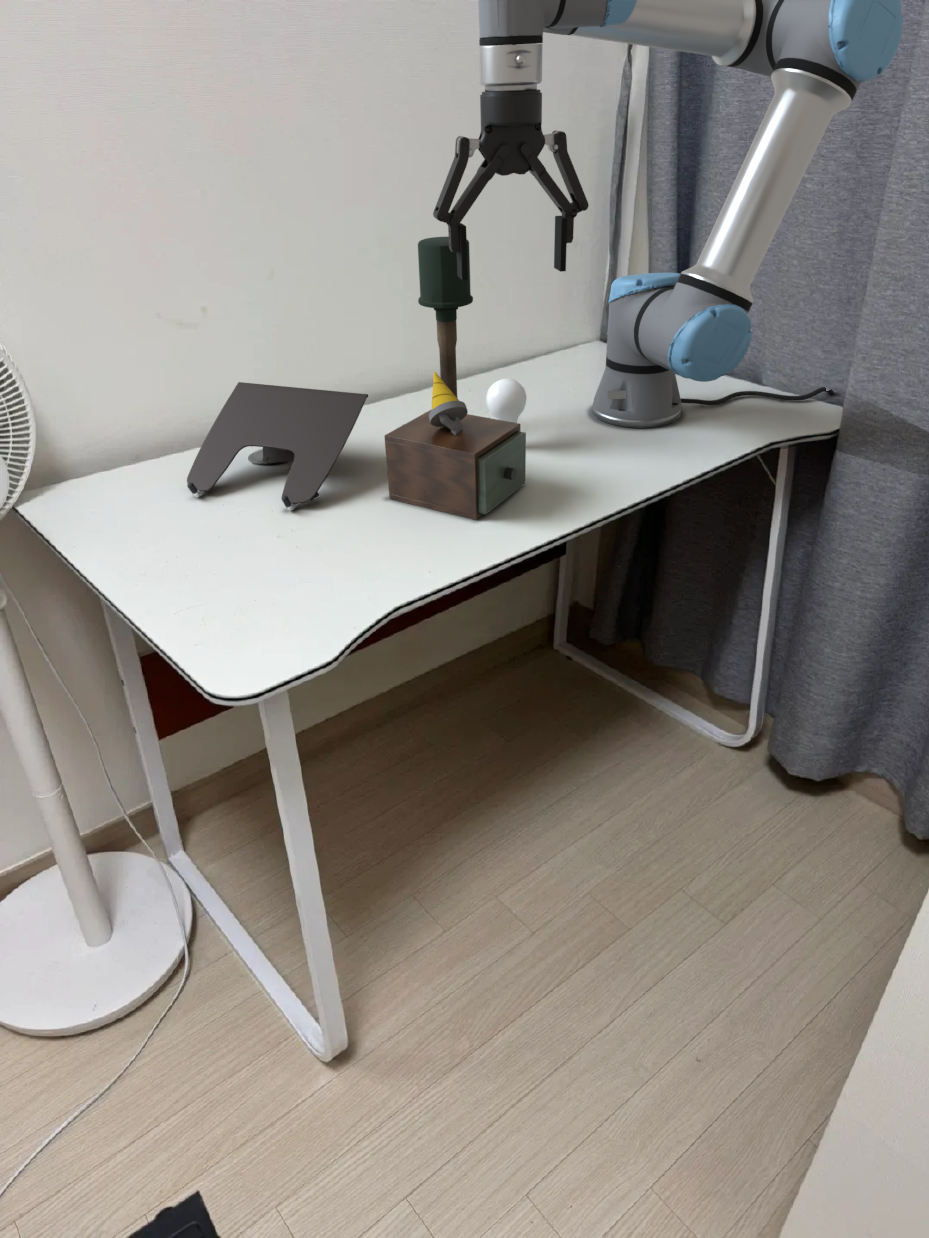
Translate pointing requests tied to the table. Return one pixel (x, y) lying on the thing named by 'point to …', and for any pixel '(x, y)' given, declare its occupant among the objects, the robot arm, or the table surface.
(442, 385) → the drill bit
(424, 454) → the cabinet
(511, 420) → the lightbulb
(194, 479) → the laptop tray
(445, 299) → the stick grenade
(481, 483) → the drawer
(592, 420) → the table surface
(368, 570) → the table surface
